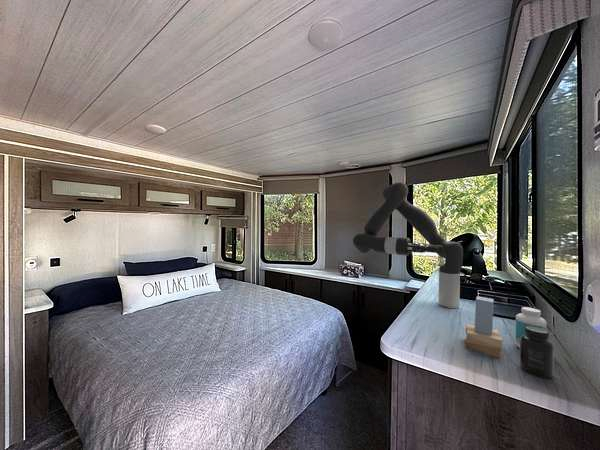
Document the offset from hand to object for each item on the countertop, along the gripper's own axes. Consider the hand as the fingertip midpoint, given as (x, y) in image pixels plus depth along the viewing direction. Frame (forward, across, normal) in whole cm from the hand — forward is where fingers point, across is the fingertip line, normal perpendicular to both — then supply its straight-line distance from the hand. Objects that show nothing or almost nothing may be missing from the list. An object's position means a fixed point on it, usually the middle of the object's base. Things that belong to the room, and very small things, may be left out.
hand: (440, 249), depth 91 cm
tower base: (+14, -4, +33) cm, 36 cm away
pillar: (+14, -3, +27) cm, 30 cm away
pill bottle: (+26, +6, +32) cm, 42 cm away
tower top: (+14, -4, +30) cm, 33 cm away
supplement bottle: (+26, -10, +32) cm, 43 cm away
